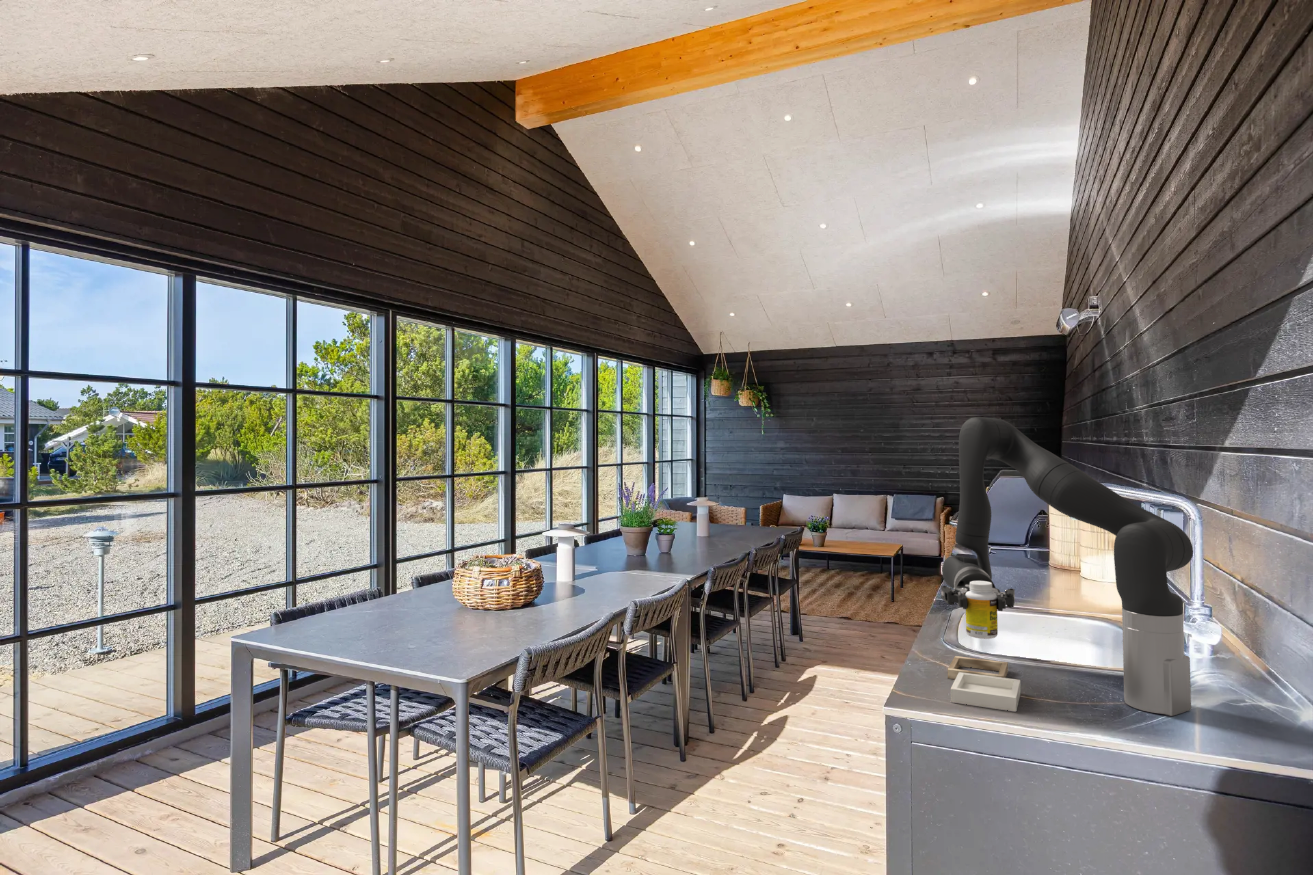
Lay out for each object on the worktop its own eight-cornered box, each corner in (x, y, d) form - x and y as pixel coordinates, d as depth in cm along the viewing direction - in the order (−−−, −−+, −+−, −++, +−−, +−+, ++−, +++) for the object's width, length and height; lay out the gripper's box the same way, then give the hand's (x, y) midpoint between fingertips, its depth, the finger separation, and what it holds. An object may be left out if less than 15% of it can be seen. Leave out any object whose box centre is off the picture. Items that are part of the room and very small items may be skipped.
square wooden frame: (1008, 670, 155) (1007, 662, 155) (1003, 685, 146) (1003, 676, 146) (955, 664, 160) (955, 655, 160) (947, 678, 151) (947, 669, 151)
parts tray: (1020, 692, 142) (1020, 679, 142) (1016, 711, 132) (1015, 697, 132) (959, 684, 147) (959, 671, 147) (950, 702, 138) (950, 688, 138)
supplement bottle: (994, 641, 138) (992, 586, 138) (962, 637, 141) (961, 583, 141) (1001, 634, 142) (999, 581, 142) (970, 630, 145) (969, 578, 145)
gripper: (936, 567, 157) (941, 583, 141) (1011, 570, 153) (1024, 586, 137) (937, 603, 157) (942, 622, 141) (1011, 606, 153) (1025, 626, 137)
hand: (982, 604), depth 139 cm, fingers closed on supplement bottle, 5 cm apart
